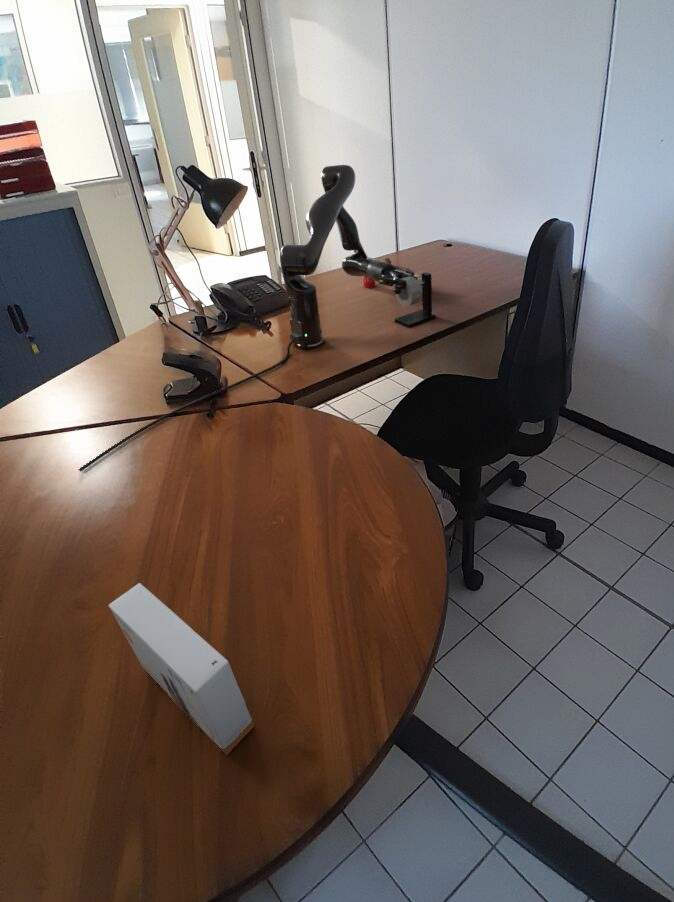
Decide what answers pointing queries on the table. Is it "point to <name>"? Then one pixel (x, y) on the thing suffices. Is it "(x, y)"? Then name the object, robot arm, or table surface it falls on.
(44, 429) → the table surface
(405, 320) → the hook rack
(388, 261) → the sunglasses case
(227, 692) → the skincare box
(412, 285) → the tape roll
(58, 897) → the table surface
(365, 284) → the beverage can
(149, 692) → the table surface
